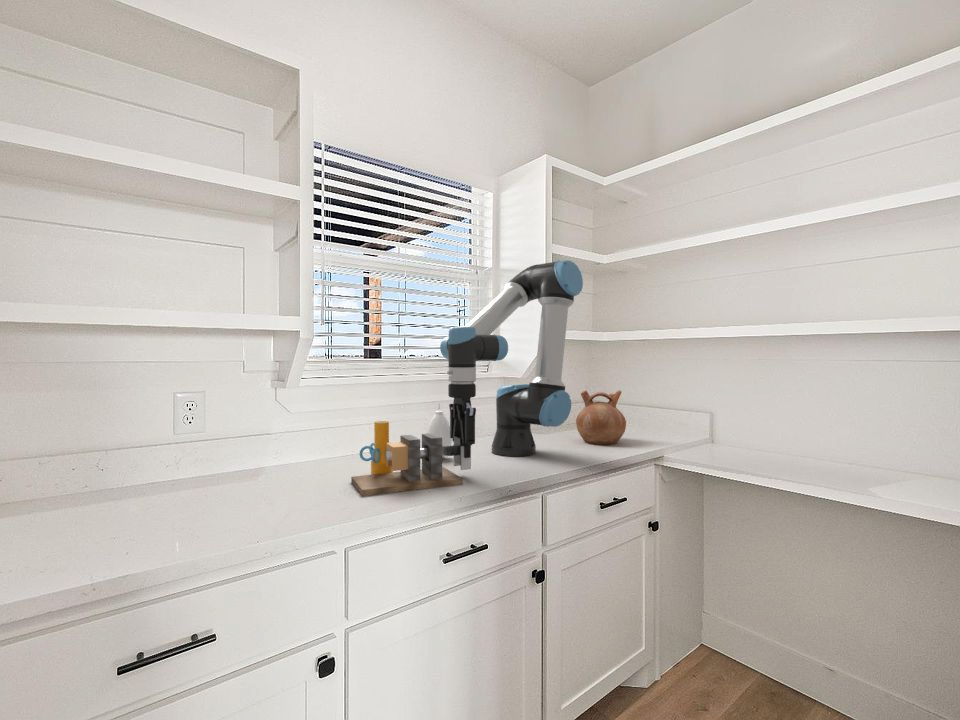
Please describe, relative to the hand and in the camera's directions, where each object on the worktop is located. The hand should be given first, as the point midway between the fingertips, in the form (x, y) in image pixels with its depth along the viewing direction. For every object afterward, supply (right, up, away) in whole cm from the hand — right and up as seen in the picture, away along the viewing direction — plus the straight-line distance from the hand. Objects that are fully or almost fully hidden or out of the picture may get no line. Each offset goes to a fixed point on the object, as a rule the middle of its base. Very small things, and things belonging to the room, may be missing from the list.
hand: (462, 467), depth 139 cm
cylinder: (-22, -3, +1) cm, 23 cm away
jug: (+51, -2, +53) cm, 73 cm away
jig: (-14, -3, -7) cm, 16 cm away
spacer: (-17, +2, -8) cm, 18 cm away
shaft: (-9, +1, -4) cm, 10 cm away
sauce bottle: (-8, -2, +24) cm, 25 cm away
